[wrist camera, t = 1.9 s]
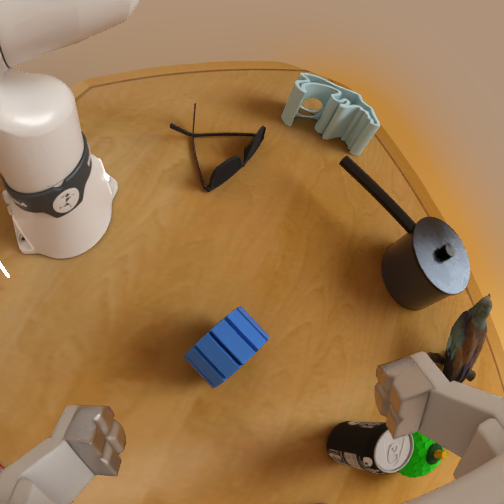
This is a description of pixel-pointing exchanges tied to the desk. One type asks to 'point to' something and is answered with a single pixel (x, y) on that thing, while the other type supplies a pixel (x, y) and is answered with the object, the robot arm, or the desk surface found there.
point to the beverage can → (369, 447)
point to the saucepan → (418, 253)
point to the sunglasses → (229, 165)
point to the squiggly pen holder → (333, 111)
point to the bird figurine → (465, 342)
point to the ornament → (423, 456)
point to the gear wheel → (226, 347)
